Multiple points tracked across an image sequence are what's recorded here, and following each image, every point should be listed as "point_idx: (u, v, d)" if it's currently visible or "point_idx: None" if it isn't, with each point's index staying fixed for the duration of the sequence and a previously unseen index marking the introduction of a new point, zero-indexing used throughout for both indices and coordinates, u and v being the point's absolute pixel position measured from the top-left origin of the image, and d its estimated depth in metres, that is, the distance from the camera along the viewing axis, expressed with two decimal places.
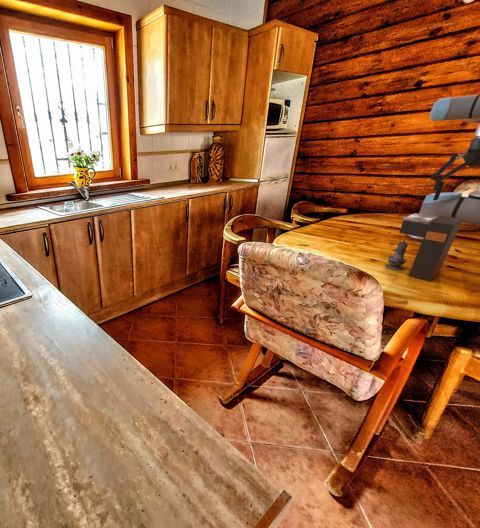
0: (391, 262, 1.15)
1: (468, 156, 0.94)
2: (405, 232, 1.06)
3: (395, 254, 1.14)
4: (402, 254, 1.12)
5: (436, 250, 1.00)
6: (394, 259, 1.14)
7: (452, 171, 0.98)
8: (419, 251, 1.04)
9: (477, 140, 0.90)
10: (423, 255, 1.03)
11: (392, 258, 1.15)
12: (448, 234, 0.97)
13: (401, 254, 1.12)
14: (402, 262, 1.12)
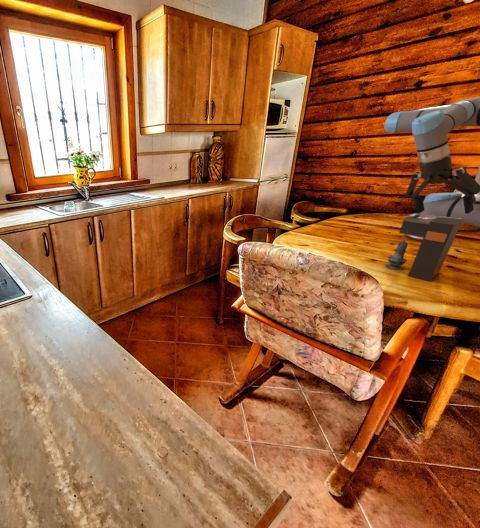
0: (391, 262, 1.15)
1: (424, 176, 1.02)
2: (405, 232, 1.06)
3: (395, 254, 1.14)
4: (402, 254, 1.12)
5: (436, 250, 1.00)
6: (394, 259, 1.14)
7: (419, 189, 1.05)
8: (419, 251, 1.04)
9: (420, 165, 0.99)
10: (423, 255, 1.03)
11: (392, 258, 1.15)
12: (448, 234, 0.97)
13: (401, 254, 1.12)
14: (402, 262, 1.12)
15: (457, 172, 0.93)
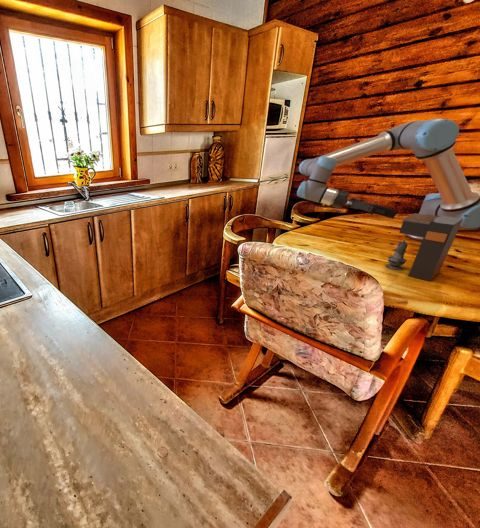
0: (391, 262, 1.15)
1: None
2: (405, 232, 1.06)
3: (395, 254, 1.14)
4: (402, 254, 1.12)
5: (436, 250, 1.00)
6: (394, 259, 1.14)
7: None
8: (419, 251, 1.04)
9: None
10: (423, 255, 1.03)
11: (392, 258, 1.15)
12: (448, 234, 0.97)
13: (401, 254, 1.12)
14: (402, 262, 1.12)
15: None
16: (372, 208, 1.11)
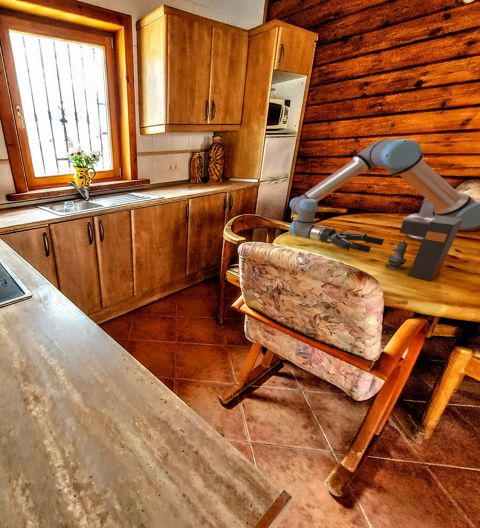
0: (391, 262, 1.15)
1: None
2: (405, 232, 1.06)
3: (395, 254, 1.14)
4: (402, 254, 1.12)
5: (436, 250, 1.00)
6: (394, 259, 1.14)
7: None
8: (419, 251, 1.04)
9: None
10: (423, 255, 1.03)
11: (392, 258, 1.15)
12: (448, 234, 0.97)
13: (401, 254, 1.12)
14: (402, 262, 1.12)
15: None
16: (345, 245, 1.21)
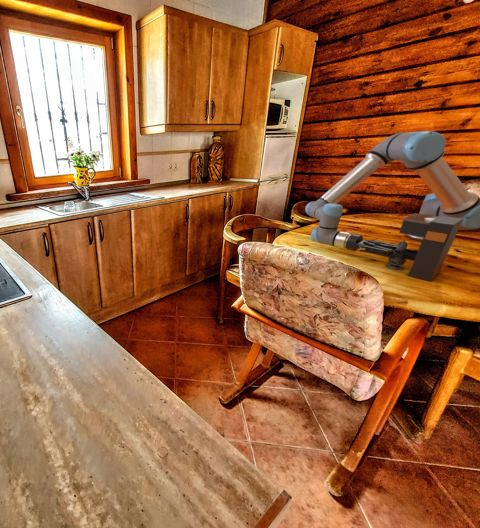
0: (391, 262, 1.15)
1: None
2: (405, 232, 1.06)
3: None
4: None
5: (436, 250, 1.00)
6: (394, 259, 1.14)
7: None
8: (419, 251, 1.04)
9: None
10: (423, 255, 1.03)
11: (392, 258, 1.15)
12: (448, 234, 0.97)
13: None
14: (402, 262, 1.12)
15: None
16: (388, 253, 1.12)
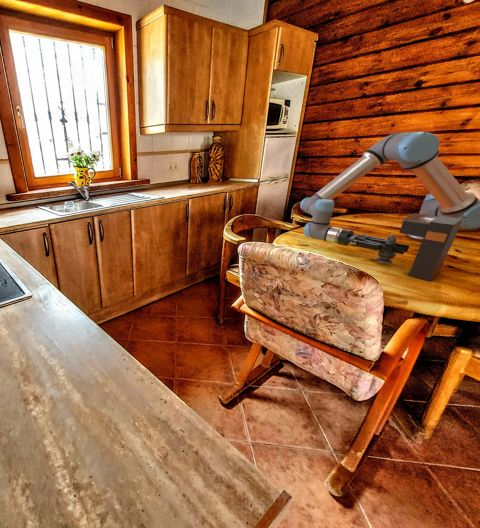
0: (381, 256, 1.17)
1: None
2: (405, 232, 1.06)
3: None
4: None
5: (436, 250, 1.00)
6: (384, 253, 1.16)
7: None
8: (419, 251, 1.04)
9: None
10: (423, 255, 1.03)
11: (382, 252, 1.17)
12: (448, 234, 0.97)
13: None
14: (391, 256, 1.15)
15: None
16: (378, 247, 1.15)
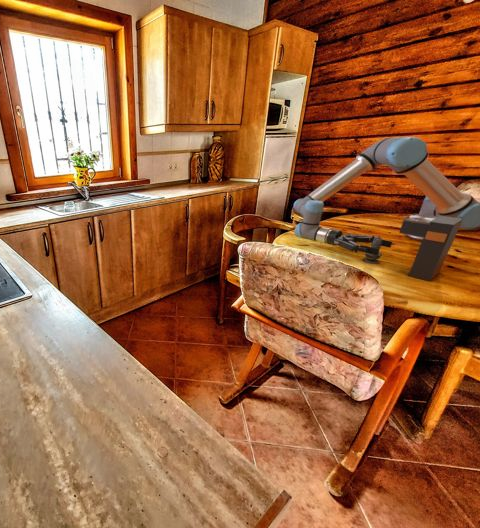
0: (367, 256, 1.21)
1: None
2: (405, 232, 1.06)
3: None
4: None
5: (436, 250, 1.00)
6: None
7: None
8: (419, 251, 1.04)
9: None
10: (423, 255, 1.03)
11: (368, 253, 1.21)
12: (448, 234, 0.97)
13: None
14: (377, 256, 1.19)
15: None
16: (353, 247, 1.18)
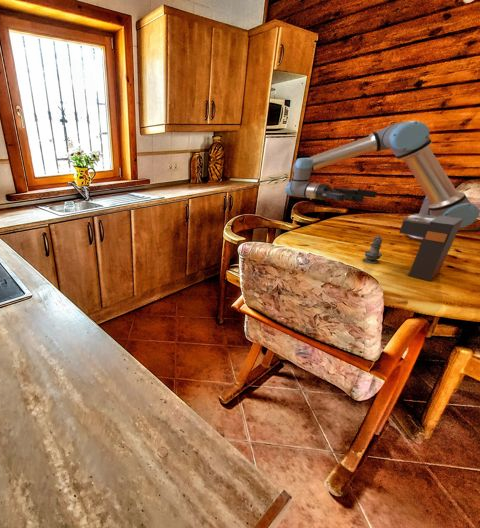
0: (367, 256, 1.21)
1: None
2: (405, 232, 1.06)
3: (371, 249, 1.20)
4: (377, 249, 1.19)
5: (436, 250, 1.00)
6: (370, 253, 1.20)
7: None
8: (419, 251, 1.04)
9: None
10: (423, 255, 1.03)
11: (368, 253, 1.21)
12: (448, 234, 0.97)
13: (377, 249, 1.19)
14: (377, 256, 1.19)
15: None
16: (339, 196, 1.24)
